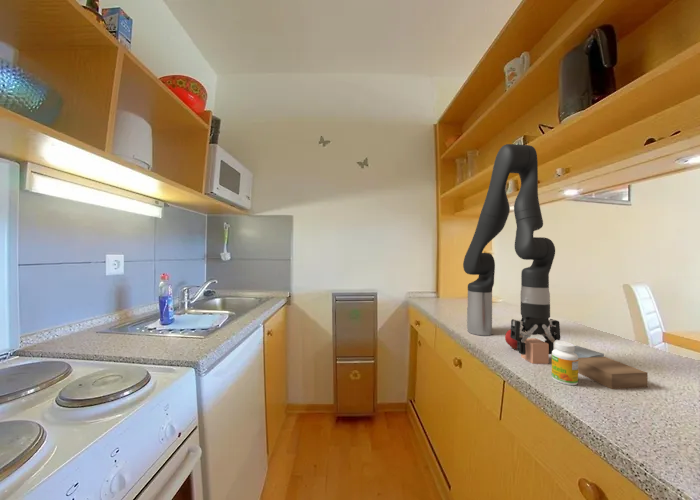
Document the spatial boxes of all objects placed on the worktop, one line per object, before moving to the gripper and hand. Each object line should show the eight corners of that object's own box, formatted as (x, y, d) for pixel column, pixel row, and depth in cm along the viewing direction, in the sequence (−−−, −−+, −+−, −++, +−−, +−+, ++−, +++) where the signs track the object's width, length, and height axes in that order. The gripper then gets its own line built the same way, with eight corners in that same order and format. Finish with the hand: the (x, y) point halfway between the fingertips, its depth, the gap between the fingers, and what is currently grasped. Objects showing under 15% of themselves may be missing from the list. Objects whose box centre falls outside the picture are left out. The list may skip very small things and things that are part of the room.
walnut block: (573, 372, 75) (573, 357, 75) (605, 370, 76) (605, 356, 76) (611, 390, 65) (611, 374, 65) (647, 388, 66) (647, 372, 66)
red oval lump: (520, 346, 93) (520, 324, 93) (528, 353, 87) (528, 329, 87) (502, 345, 94) (502, 323, 94) (509, 351, 88) (509, 328, 88)
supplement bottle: (546, 377, 70) (546, 341, 70) (559, 374, 72) (559, 339, 72) (569, 387, 65) (569, 348, 65) (583, 383, 67) (583, 345, 67)
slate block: (562, 361, 82) (562, 348, 82) (576, 358, 84) (576, 345, 84) (589, 370, 75) (589, 356, 75) (603, 367, 78) (603, 353, 78)
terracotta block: (521, 357, 84) (521, 338, 84) (536, 357, 84) (536, 338, 84) (532, 363, 79) (532, 344, 79) (548, 363, 79) (548, 343, 79)
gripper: (547, 299, 86) (547, 349, 85) (505, 299, 85) (505, 349, 85) (567, 303, 78) (567, 358, 78) (521, 303, 78) (521, 358, 77)
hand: (535, 353), depth 81 cm, fingers open, 8 cm apart
